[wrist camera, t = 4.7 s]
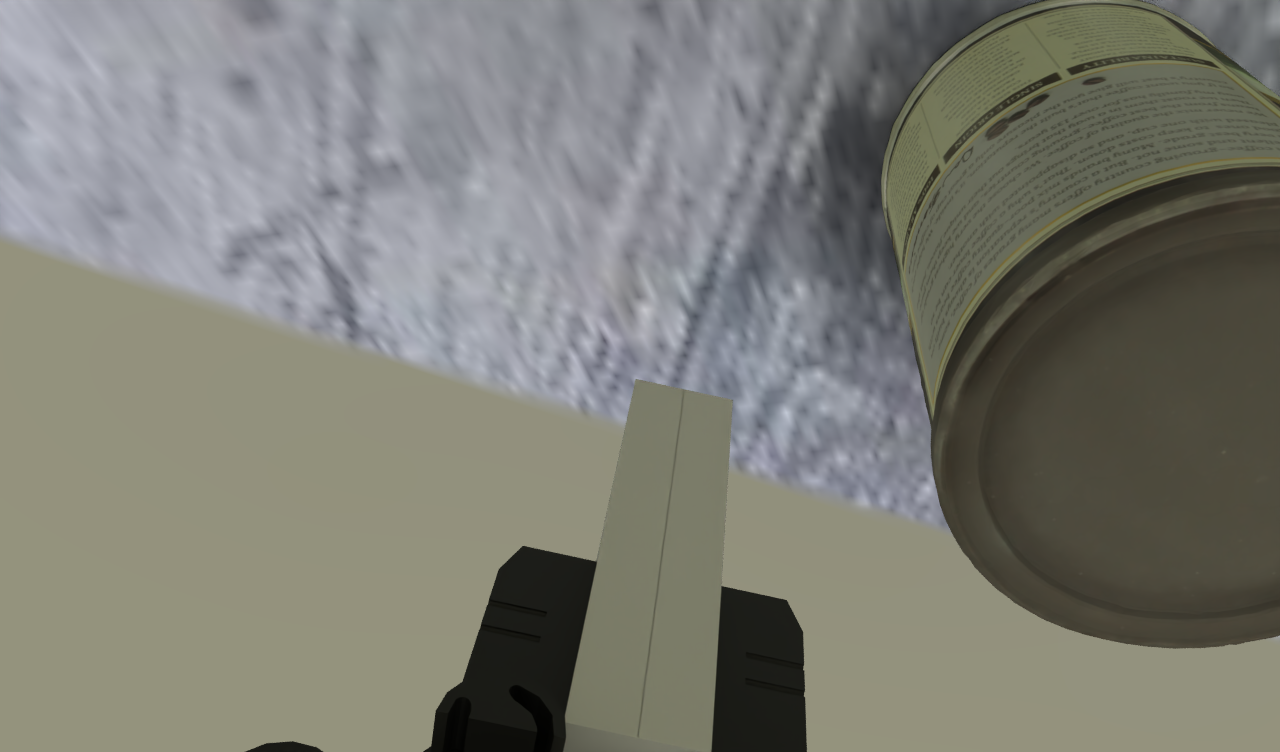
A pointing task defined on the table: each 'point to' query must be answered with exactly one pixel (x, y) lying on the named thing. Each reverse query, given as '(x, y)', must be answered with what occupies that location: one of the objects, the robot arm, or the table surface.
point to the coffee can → (1100, 317)
